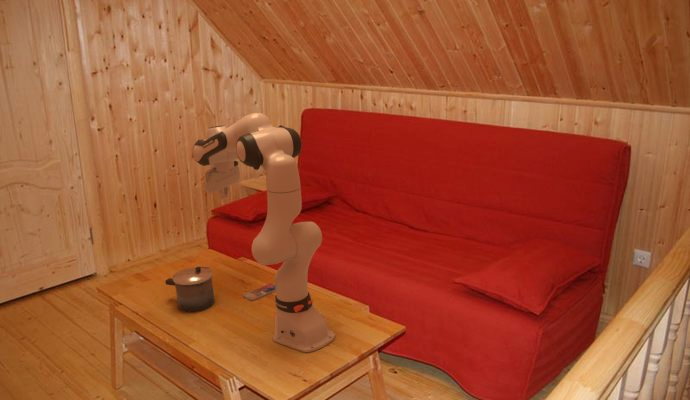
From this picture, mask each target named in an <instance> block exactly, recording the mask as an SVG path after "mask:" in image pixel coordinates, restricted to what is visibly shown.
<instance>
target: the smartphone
mask: <svg viewBox="0 0 690 400" xmlns="http://www.w3.org/2000/svg"><path fill="white" fill-rule="evenodd" d="M274 293H276V287H275V283H268V284H265V285H264V286H261V287H258V288H256V289H253V290H251V291H249V292H247V293H245V294H243V295H242V298H244V299H246V300H248V301H249V302H255V301H257V300H261V298H264V297H266V296H268V295H272V294H274Z"/></svg>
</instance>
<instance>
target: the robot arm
mask: <svg viewBox="0 0 690 400" xmlns="http://www.w3.org/2000/svg"><path fill="white" fill-rule="evenodd" d="M301 152H302V138H301V136H300V134H299V132H298V131H296V130H295V129H294V128H290V127H286V126H284V125H282V124H280V125H279V126H277V127H274V126H273V125H272V122H271V120H270V118H269V117H268V116H267V115H266V114H263V113H261V112H252V113H248V114H247V115H245V116H243V117H242V118H240V119H239V120H237V121H235V122H234V123H233V124H231V125H230V126H228V127H227V126H226V125H215V126H210V127H208V128H207V130H206V139H198V140H197V141H195V143H194V145H193V147H192V156H193V158H194V161H195V162H196V163H197V164H199V165H201V166H203V167H205V166H209V169H208V170H206V173H205V174H204V178H203V179H204V191H205V193H206V194H214V193H217V192H218V194H219V195H220V196H219V197H220V199H221V200H225V199H227V198H228V197H229V191H230V186H232V185H234V184H237V183H239V182H240V180H241V171H240V162H241V163H242V164H243V165H245V166H247V167H250V168H252V169H254V171H258V170H259V169H260V168H261V167H262V169H263V170H264V172H265V178H266V179H265V183H266V185H265V187H266V199H267V213H266V218H265V221H264V223H263V226H262V228H261V230H260V231H259V233H258V234H257V235H256V237H254V239H253V242H252V243H251V253H252V256H253V258H254V260H255V261H256V262H257V263H258V264H260V265H261V266H270V265H277V264H279V263H282V265H281V266H280V267H279V268H278V269H277V270H276V272H275V275H274V285H275V287H276V292H275V298H274V302H275V307H276V313H275V316H274V317H275V318H274V335H273V338H272V341H273V342H275V343H278V344H281V345H283V346H286V347H289V348H291V349H294V350H297V351H299V352H303V353H312V352H314V351H318V350H320V349H322V348H324V347H326V346H327V345H329V344H331V342H333V341H334V339H335V338H336V334H335V332H333V331H332V330H331V329H329V328H328V324H327V321H326V319H325V314H324V313H320V311H318V309H317V308H316V306H314V304H313V303H314V300H315V299H314V298H313V299H312V297H311V294H310V292H309V288H308V287H309V286H308V285H309V284H308V283H309V281H308V272H309V266H310V264H311V261H312V258H313V256H314V254H315V253H316V251H317V250H318V248H319V247H320V246H321V244H322V242H323V241H322V240H323V235H322V231H321V230H322V229H321V228H320V227H319V225H317V224H316V222H315V221H314V222H313V221H299V222H296V223H294V220H295V219H296V218H297V217H298V215H300V213H301V211H302V208H303V206H302V205H303V201H302V188H301V187H302V186H301V178H300V172H299V167H298V163H297V161H296V159H295V158H296V157H298V156H299V155H300V153H301ZM238 159H239V160H238ZM239 161H240V162H239Z"/></svg>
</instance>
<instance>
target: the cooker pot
mask: <svg viewBox="0 0 690 400" xmlns="http://www.w3.org/2000/svg"><path fill="white" fill-rule="evenodd" d="M165 285H166V286H167V285H168V286H173V287H175V293H176V299H177V305H178V309H179V310H180V311H181V312H184V313H199V312H203V311H206V310H208V309H209V308H211V307H213V305H214V304H215V302H216V301H215V300H216V299H215V294H214V293H215V292H214V285H213V277H212V278H211V279H209V280H208V281H206V282H203V283H200V284H195V285H179V284H176V283H174V282H173V278H167V279H166V280H165Z"/></svg>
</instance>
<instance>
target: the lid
mask: <svg viewBox="0 0 690 400" xmlns="http://www.w3.org/2000/svg"><path fill="white" fill-rule="evenodd" d="M211 278H212V279H213V270H212V269H211V268H210V267H207V266H196V267H189V268H185V269H182V270H179V271H177V272H175V273H174V274H173V275H172V279H173V282H174V283H176V284H179V285H195V284H200V283H203V282H206V281H208V280H209V279H211Z"/></svg>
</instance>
